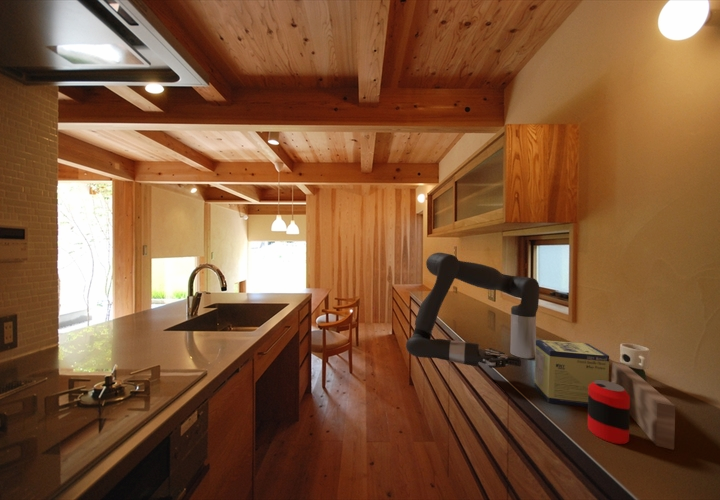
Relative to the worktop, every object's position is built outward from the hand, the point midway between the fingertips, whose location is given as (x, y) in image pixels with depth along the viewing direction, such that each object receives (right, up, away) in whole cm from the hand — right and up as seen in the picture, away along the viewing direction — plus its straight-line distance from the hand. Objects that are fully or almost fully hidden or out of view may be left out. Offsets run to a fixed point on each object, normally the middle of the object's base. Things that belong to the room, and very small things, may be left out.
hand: (520, 362), depth 91 cm
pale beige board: (+23, -9, -15) cm, 29 cm away
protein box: (+12, -9, -5) cm, 15 cm away
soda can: (+8, -9, -22) cm, 25 cm away
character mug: (+39, -9, +3) cm, 41 cm away
